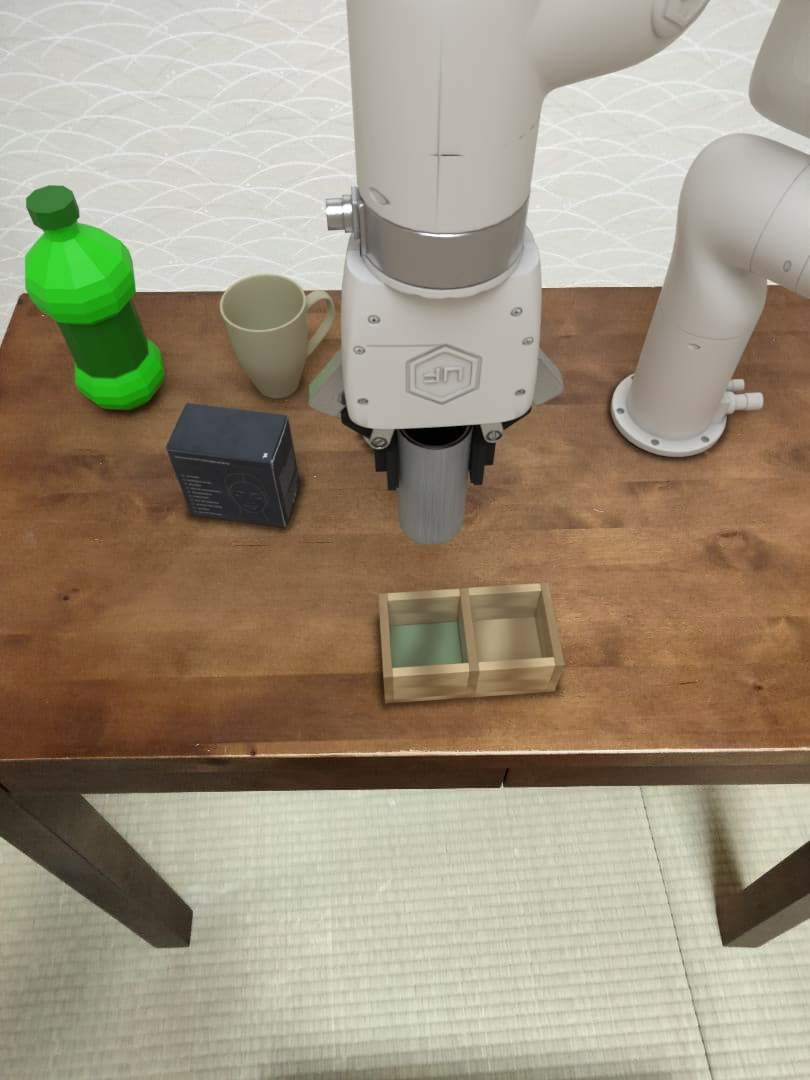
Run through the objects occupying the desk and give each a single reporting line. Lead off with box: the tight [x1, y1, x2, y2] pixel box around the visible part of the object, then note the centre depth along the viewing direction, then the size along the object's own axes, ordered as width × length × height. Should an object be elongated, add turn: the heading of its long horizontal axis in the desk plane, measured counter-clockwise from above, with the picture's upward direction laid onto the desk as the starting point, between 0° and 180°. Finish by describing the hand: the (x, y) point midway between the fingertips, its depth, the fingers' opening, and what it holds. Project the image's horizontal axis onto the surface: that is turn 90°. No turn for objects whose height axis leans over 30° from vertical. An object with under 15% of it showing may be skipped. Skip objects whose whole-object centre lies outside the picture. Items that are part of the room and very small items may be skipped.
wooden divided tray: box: [377, 582, 565, 704], centre depth 73 cm, size 15×8×6 cm, turn 94°
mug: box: [219, 273, 336, 400], centre depth 90 cm, size 11×10×12 cm
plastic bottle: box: [24, 184, 165, 411], centre depth 84 cm, size 10×10×25 cm
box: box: [165, 402, 301, 528], centre depth 82 cm, size 11×7×10 cm, turn 80°
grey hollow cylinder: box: [396, 425, 473, 546], centre depth 52 cm, size 4×4×10 cm
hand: (433, 468), depth 52 cm, fingers closed on grey hollow cylinder, 4 cm apart
